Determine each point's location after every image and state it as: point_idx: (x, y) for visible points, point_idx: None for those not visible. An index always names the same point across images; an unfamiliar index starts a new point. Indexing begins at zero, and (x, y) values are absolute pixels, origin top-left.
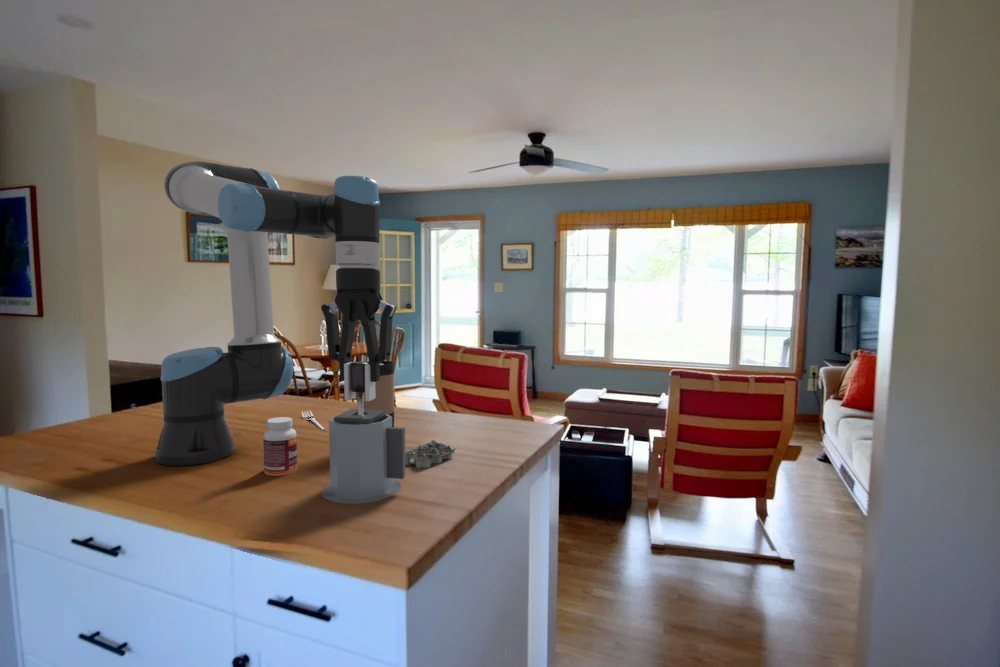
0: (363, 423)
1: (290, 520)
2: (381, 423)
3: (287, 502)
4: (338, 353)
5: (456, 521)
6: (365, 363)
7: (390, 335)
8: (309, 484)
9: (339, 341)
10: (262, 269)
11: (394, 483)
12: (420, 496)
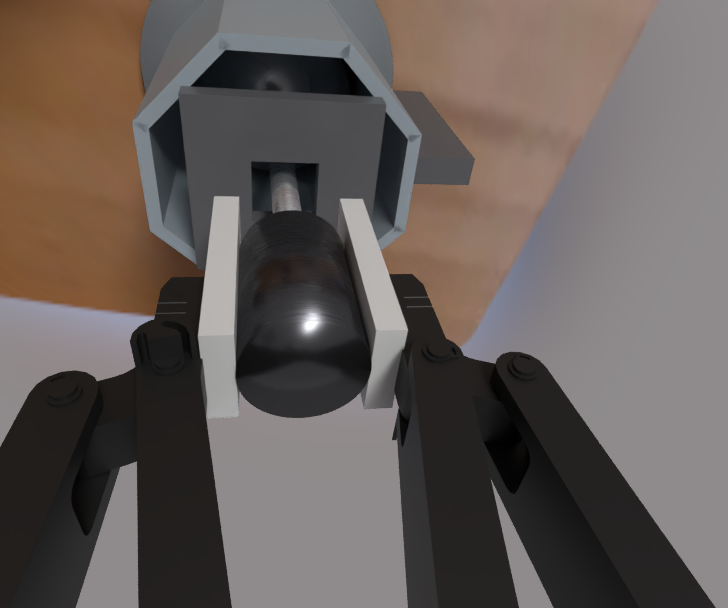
0: (295, 172)
1: (185, 266)
2: (398, 233)
3: (97, 180)
4: (116, 451)
5: (542, 210)
6: (356, 385)
7: (643, 534)
8: (47, 25)
9: (55, 516)
10: None
11: (364, 23)
12: (453, 81)
